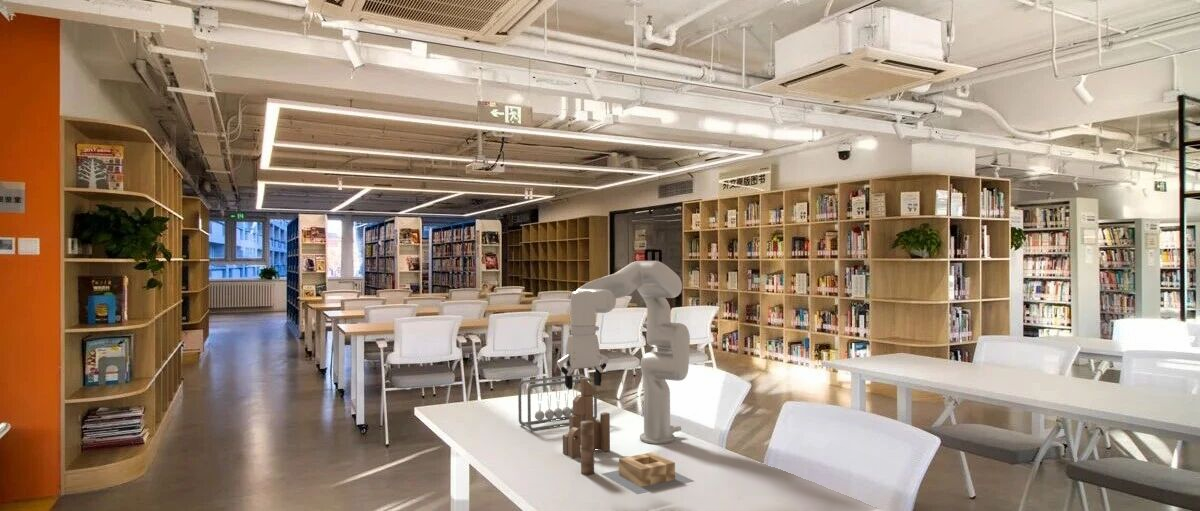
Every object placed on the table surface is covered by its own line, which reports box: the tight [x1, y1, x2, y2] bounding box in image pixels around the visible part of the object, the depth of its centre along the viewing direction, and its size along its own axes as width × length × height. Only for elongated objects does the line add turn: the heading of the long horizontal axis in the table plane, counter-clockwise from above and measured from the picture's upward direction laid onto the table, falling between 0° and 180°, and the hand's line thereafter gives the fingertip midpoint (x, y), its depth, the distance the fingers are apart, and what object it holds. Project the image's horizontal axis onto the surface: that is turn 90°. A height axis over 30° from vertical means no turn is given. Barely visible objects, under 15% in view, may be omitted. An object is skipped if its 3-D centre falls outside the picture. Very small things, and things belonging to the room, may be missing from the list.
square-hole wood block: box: [618, 452, 676, 487], centre depth 199 cm, size 12×12×5 cm
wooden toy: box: [562, 377, 611, 458], centre depth 226 cm, size 16×7×25 cm, turn 120°
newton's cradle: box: [517, 373, 598, 431], centre depth 265 cm, size 30×10×18 cm, turn 119°
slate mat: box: [601, 469, 694, 495], centre depth 199 cm, size 20×20×1 cm
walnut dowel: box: [580, 421, 595, 476], centre depth 203 cm, size 4×4×16 cm
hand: (583, 386), depth 204 cm, fingers open, 9 cm apart
